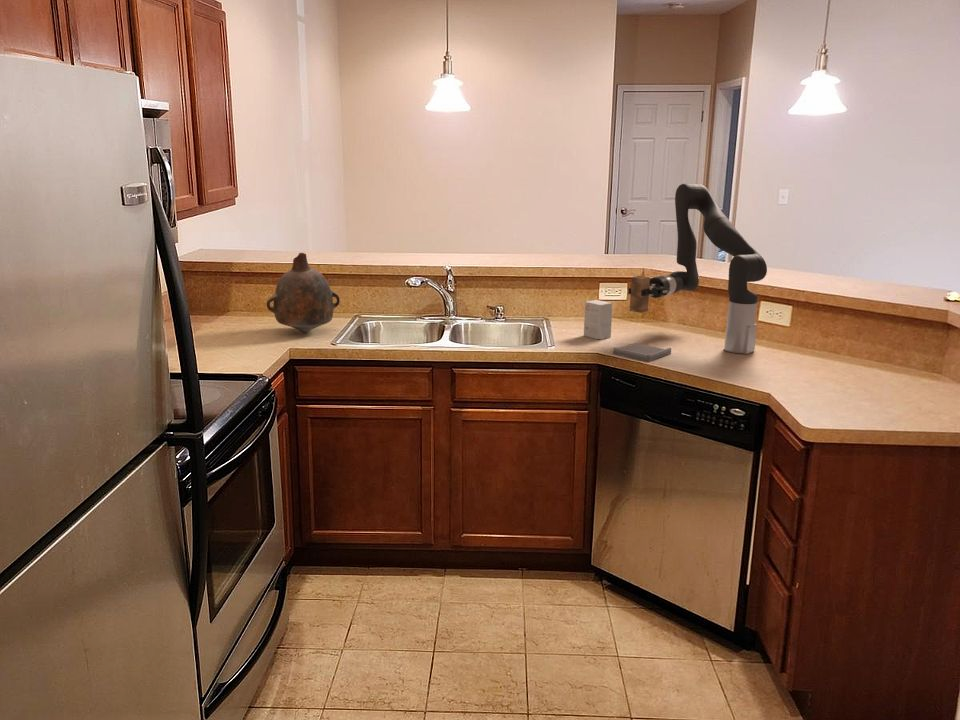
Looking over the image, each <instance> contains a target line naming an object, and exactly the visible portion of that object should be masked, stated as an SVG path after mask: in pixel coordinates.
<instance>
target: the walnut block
mask: <svg viewBox="0 0 960 720" xmlns="http://www.w3.org/2000/svg"><path fill="white" fill-rule="evenodd" d="M650 279H651V276H649V277H648V276H641V275H636V276H633V277H631V281H630V285H631V294H629V295H630V296H629V297H630V299H629V312H633V313H635V312H636V313H639V314H641V313H642V314H643V313H645V312H649V311H648V310H649V299H650V298H649V297H650V296H649V295H647V296H641V290H644V289H649V285H650Z"/></svg>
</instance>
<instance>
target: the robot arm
mask: <svg viewBox="0 0 960 720" xmlns="http://www.w3.org/2000/svg"><path fill="white" fill-rule="evenodd" d="M675 190H676V191H675V194H674V203H675V219H676V220H675V221H676V230H677V231H676V232H677V246H676V263H677V265H680V266H683V267H684V268H685V269H686V271H682V270H681V271H680V270H678V271H677V270H676V271H673V272H671V273H670V274H666V275H665V274H664V275H659V276H654V277H650V285H649V289H644V290H641V296H647V295H649V297H651V298H653V299H659V298H663V297H666V296H670V295H672V294H676V293H679V292H680V291H690V292H692V291H695V290H696V289H697V288H698V286H699V285H700V278H699V279H698V276H699V272H698V267H697V259H696V258H697V243H698V242H697V239H696V236H695V234H694V231H693V229H692V227H691V224H690V223H691V222H690V220H689V211H690V210H697V211H699V213H700V214H702V216H703V217H704V220H703V232H704V234H705V236H706V237H707V239H709V240H710V242H711V243H712V244H713V246H715V247H716V248H718V249H719V250H721V251H723V252H725V253H727V254H728V255H731V256H732V259H731V260H730V262H729V267H728V282H727V284H728V286H727V292H728V296H729V297H728V307H727V318H726V328H725V338H724V350H725V351H726V352H729V353H733V354H745V355H748V354H750V353H753V352H755V351H756V350H755V347H756V340H757V338H756V337H757V330H758V324H757V323H756V316H757V307H758V306H757V305H758V298H759V297H758V296H759V295H758V294H757V293H755V292H753V291H750V290H749V289H748V283H751V282H752V283H755V282H759V281H763V279H764V278H765V277H766V276H767V273H768V266H767V263H766V261H765V259H764V258H763V256H762V255H761V254H760V253H759V252H758V251H757V250H756V249H755V248H754V247H752V246H751V245H750V244H749V242H748V241H747V240H746V239H745V238H744V237H743V235H742V234H741V233H740V232H739V231H738V230H737V228H736V227H735V226H734V225H733V223H732V222H731V221H730V219H729V218H728V217H727V216H726V214H725V213H724V212H723V211H722V210H721V207H719V206H718V204H717V203H716V201H715V200H714V198H713V195H712V194H711V193H710V191H709V189H708V188H707V187H706V186H704V185H703V184H700V183H681V184H680V185H678V186H677V188H676V189H675ZM627 291H628V292H627V293H628V295H631V284H630V287H629V288H628V290H627Z"/></svg>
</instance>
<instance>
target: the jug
mask: <svg viewBox="0 0 960 720" xmlns="http://www.w3.org/2000/svg"><path fill="white" fill-rule="evenodd" d="M333 299H336V302H335V303H334V300H333ZM340 300H341V299H340V297H339V295H338V294H337V293H336V292H334V291H332V290H331V287H330V284H329V282H328V281H327V278H326V277H325V276H324V275H323V274H322V273H321V272H320V271H318V270H317V269H315V268H311V267H310V264H309V262H308V257H307V254H306V253H305V252H299V253H298V254H297V256H295V257H294V258H293V261H292V267H291V269H290V270H288V271H286V272H284V273H283V274H282V275H281V277H280V278H279V280H278V282H277V284H276V287H275V291H274V294H273V295H272V296H270V297H269V298H268V299H267V301H266V308H267V309H268V311H270V313H271V312H272V313H274V314H273V315H274V317H275V318H274V319H276V321H277V323H278V324H280V325H284V326H287V327H290V328H293V329H295V330H298V331H299V332H302V333H309V332H310V331H312V330H313V329H316V328H318V327H322V326H324V325H326V324H329V323H330V322H331V321H332V320H333V317H334V310H335V309H336V308H337V307H338V306H339V305H340ZM272 302H273V306H271V303H272Z"/></svg>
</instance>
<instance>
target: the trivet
mask: <svg viewBox="0 0 960 720" xmlns="http://www.w3.org/2000/svg"><path fill="white" fill-rule="evenodd" d="M612 354H613V355H617V356H622V357H627V358H631V359H635V360H639V361H645V362H652V361H655V360H657V358H658V359H660V357H661V358H663V357H662V356H664V357H666V356H669V355H671V354H672V348H671V347H668V348H661V347H656V346H651V345H647V344H640V343H637V342H636V343H633V344H630V345H626V346H625V345H624V346H623V347H613V353H612ZM668 354H669V355H668ZM665 355H666V356H665Z"/></svg>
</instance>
